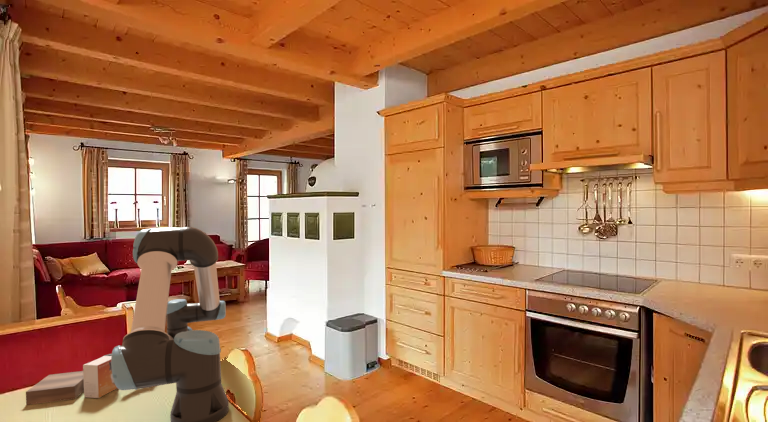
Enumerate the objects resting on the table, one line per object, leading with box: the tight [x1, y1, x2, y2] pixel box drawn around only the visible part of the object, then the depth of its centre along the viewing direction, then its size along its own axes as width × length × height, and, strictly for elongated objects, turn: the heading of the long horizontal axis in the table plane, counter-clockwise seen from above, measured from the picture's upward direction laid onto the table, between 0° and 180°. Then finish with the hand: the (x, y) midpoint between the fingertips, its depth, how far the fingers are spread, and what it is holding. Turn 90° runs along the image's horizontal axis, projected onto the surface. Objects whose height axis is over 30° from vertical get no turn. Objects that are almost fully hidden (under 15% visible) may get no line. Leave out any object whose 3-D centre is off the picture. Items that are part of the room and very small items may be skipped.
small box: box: [82, 355, 118, 399], centre depth 132 cm, size 8×6×10 cm
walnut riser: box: [25, 370, 84, 406], centre depth 133 cm, size 13×13×4 cm
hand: (105, 370), depth 134 cm, fingers open, 13 cm apart
